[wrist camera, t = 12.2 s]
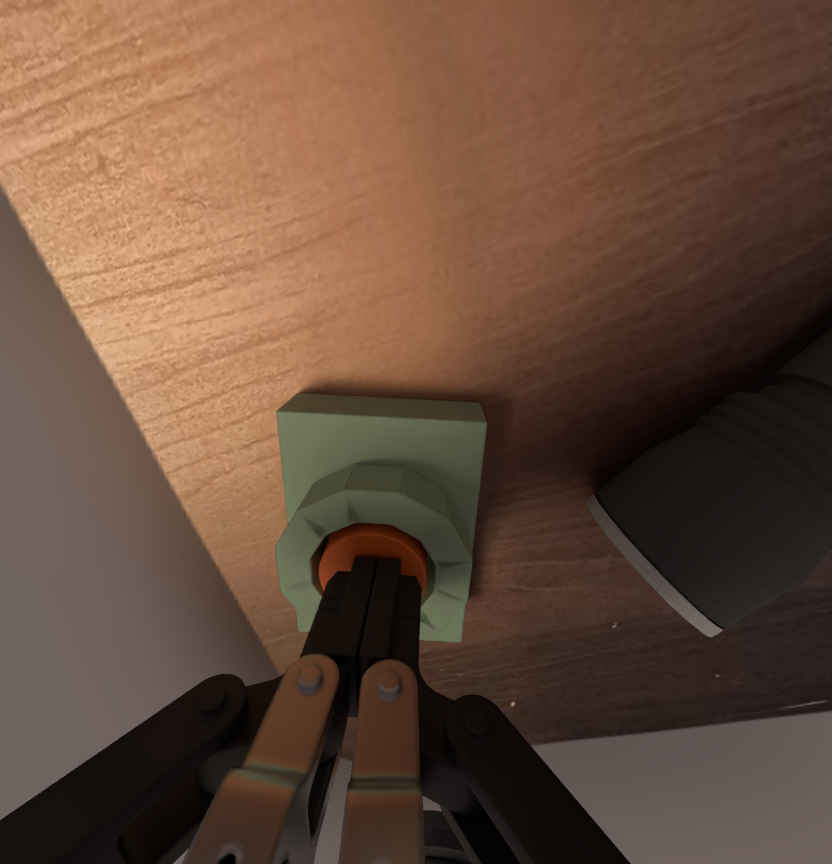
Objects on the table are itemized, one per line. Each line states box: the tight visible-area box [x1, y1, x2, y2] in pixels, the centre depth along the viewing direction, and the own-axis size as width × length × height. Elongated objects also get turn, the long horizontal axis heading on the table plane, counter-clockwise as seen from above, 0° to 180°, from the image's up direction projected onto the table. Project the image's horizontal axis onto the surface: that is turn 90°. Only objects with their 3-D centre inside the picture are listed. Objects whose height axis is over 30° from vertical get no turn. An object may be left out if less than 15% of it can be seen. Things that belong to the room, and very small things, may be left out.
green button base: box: [275, 393, 487, 643], centre depth 15 cm, size 10×7×4 cm
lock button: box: [319, 522, 427, 597], centre depth 14 cm, size 4×4×2 cm
